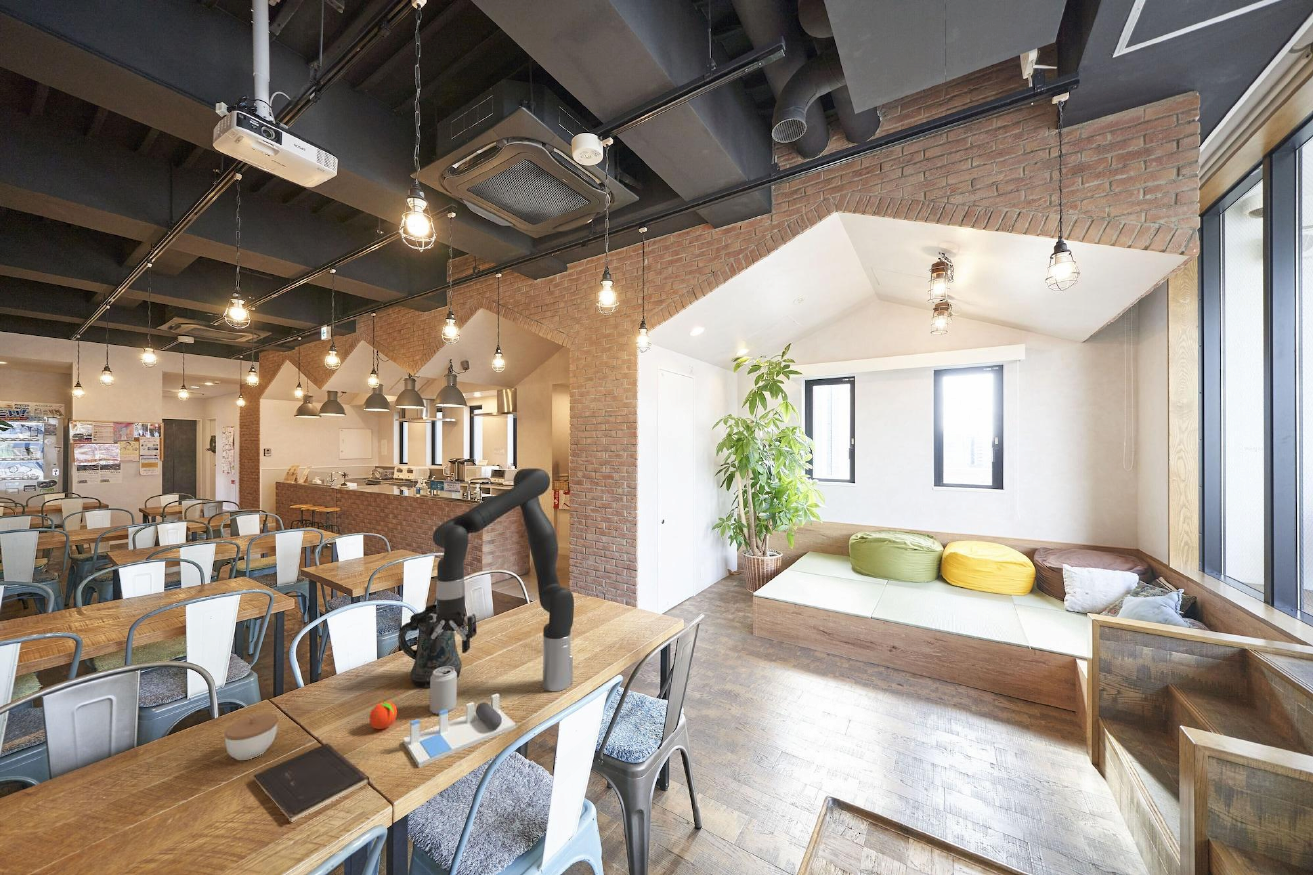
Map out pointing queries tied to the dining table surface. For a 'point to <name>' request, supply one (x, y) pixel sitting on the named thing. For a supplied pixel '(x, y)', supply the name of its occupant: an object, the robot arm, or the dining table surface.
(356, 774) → the hardcover book
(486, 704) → the dark grey rounded cylinder
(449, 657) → the beer stein
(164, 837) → the dining table surface
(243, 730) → the lidded jar
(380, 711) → the clementine
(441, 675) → the can
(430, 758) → the white peg board
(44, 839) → the dining table surface
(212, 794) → the dining table surface
